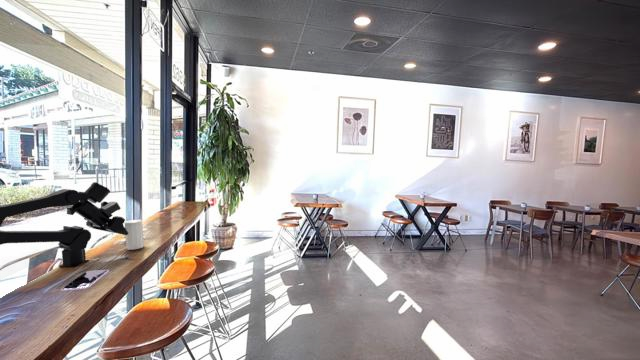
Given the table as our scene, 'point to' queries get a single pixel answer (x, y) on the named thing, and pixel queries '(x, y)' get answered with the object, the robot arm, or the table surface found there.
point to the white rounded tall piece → (134, 234)
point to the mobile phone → (85, 280)
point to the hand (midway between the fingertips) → (121, 233)
